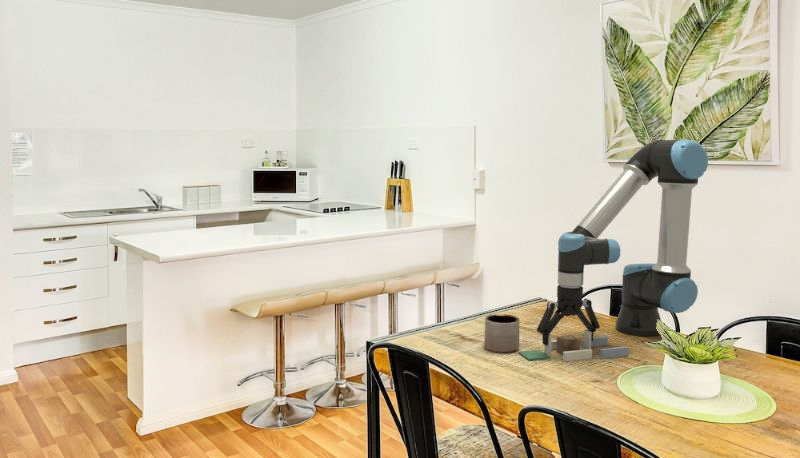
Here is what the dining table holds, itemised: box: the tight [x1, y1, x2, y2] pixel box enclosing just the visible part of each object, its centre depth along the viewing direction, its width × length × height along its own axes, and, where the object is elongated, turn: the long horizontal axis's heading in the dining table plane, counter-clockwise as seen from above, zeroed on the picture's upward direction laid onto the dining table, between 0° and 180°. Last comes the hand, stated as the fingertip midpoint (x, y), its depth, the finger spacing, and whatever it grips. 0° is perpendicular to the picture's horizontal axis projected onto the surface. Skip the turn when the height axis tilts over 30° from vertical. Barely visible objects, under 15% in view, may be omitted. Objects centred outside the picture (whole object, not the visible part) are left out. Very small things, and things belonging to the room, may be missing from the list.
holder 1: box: [551, 339, 593, 362], centre depth 200 cm, size 9×12×3 cm
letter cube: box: [556, 334, 581, 357], centre depth 200 cm, size 5×5×5 cm
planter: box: [483, 313, 521, 354], centre depth 206 cm, size 11×11×10 cm
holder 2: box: [580, 336, 630, 360], centre depth 203 cm, size 9×12×3 cm
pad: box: [517, 349, 551, 362], centre depth 199 cm, size 7×7×1 cm
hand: (567, 353), depth 201 cm, fingers open, 13 cm apart
